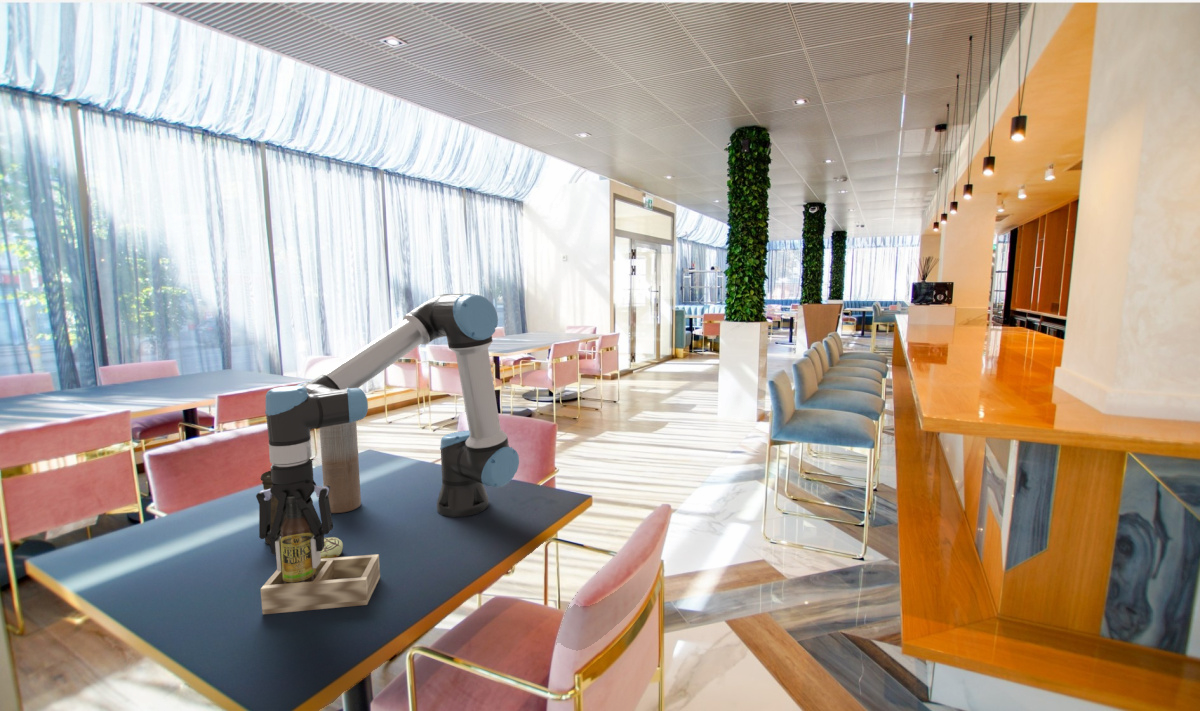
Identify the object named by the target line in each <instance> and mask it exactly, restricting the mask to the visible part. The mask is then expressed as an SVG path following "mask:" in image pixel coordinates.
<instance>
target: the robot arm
mask: <svg viewBox="0 0 1200 711" xmlns="http://www.w3.org/2000/svg"><path fill="white" fill-rule="evenodd" d="M498 322H499V316H498V312H497V310H496V307H495V305H494V304H493V302H491V300H489V299H488V298H487V297H485V296H483V295H480V294H476V293H475V294H474V293H453V294H452V293H451V294H450V293H449V294H448V293H446V294H445V293H444V294H440V295H437V296H434V297H432V298H430V299H428V300H426V301H425V302H423V303H422V304H420V305H418V306H417V307H416V308H414V309H413V310H411V311H409V312H408V313H406V314H404V316H403V319H402V321H401V322H400V323H398V324H396V326H393V327H391V329H389V330H388V331H386V332H385V333H383V334H382V335H380V336H378V337H377V338H376V339H374V340H373V341H371V342H369V343H368V344H367V345H365V346H364V347H362V348H361V349H359V350H357V351H356V352H355V353H353V354H352V355H350V356H349V357H346V358H345V359H344V360H342V361H340V363H338V364H336V365H335V366H333V367H332V368H330V369H329V370H328V371H326V372H324V373H322V374H321V375H319V376H318V377H316V378H314V379H313V380H312V381H306V382H301V383H298V384H297V385H291V386H290V385H289V386H288V385H287V386H286V385H285V386H278V387H274V388H271V389H269V390H268V391H267V392H266V394H265V412H264V414H265V418H266V425H267V426H266V427H267V436H268V437H267V438H268V451H269V452H268V454H269V462H270V464H271V466H270V471H271V479H272V487H271V489H268V490H266V489H264V488H263V489H262V490H260V491H259V492H258V493H257V494H256V495H255V497H256V499H257V503H258V504H259V507H258V508H259V509H258V513H259V514H258V515H259V518H258V519H259V520H258V522H259V524H258V526H259V528H258V530H259V531H258V532H259V533H258V534H259V537H258V538H260V539H261V540H265V539H269V540H270V543H271V545H270V553H271V555H272V556H275V555H276V556H275V558H276V570H277V571H282V557H281V536H280V537H279V535H280V534H281V526H282V524H283V522H284V519H285V515H286V503H285V502H286V498H287V497H291V496H294V497H295V499H296V500H297V502H298V504H299V506H300V509H301V510H303V512H304V514H305V517H306V519H307V521H308V523H309V526H310V528H311V530H312V532H313V534H314V536H313V537H312V538H311V553H312V566H313V568H317V567H318V565H319V564H320V563H321V554H320V551H322V550H323V548H324V546H325V545H324V538H325V537H324V536H325V535H329V534H330V532H331V531H332V530H333V528H334V526H333V525H334V524H333V517H332V513H331V510H330V503H329V497H328V495H329V491H330V486H328V485H326V486H325V487H323V485H322V486H320V485H318V484H317V483H316V482H315V480H314V466H313V464H314V463H313V460H312V459H311V458H312V440H311V437H312V436H311V430H317V429H320V428H322V427H327V426H333V425H339V424H344V423H351V422H354V421H356V422H358V421H361V420H363V419H365V417H366V416H367V414H368V410H369V404H368V403H369V402H368V397H367V396H366V393H365V392H364V390H363V389H361V388H360V387H362V386H364V384H366V383H367V382H369V381H370V380H372V379H373V378H374V377H377V375H378V374H380V373H382V372H383V371H384V370H386V369H388V368H389V367H390V366H392V365H393V364H394V363H396V362H397V361H399V360H400V359H402V358H403V357H404V356H406V355H407V354H409V353H410V352H411V351H413V350H414V349H416V348H417V347H418V346H420V345H425V346H426V345H428V344H429V343H431V342H432V341H434V340H436V339H440V338H445V337H446V339H447V346H448V349H449V350H451V351H452V352H453V353H455V356H456V357H455V358H456V363H457V369H458V374H459V379H460V387H461V393H462V397H463V398H462V399H463V403H464V409H465V410H464V411H465V415H466V420H467V427H468V430H462V431H456V432H450V433H448V434H445V435H444V436H442V437H441V438H440V448H439V450H440V460H441V461H440V463H441V478H442V479H441V488H440V490H439V495H438V498H437V500H436V511H437V512H438V514H440V515H442V516H445V517H452V518H460V517H461V518H462V517H468V516H469V517H470V516H473V515H477V514H479V513H481V512H483V511H485V510H486V509H487V508H488V507H489V495H488V493H487V490H486V488H485V486H486V487H492V488H502V487H504V486H506V485H508V484H509V483H510V482H511V480H513V478H514V477H515V475H516V473H517V472H518V469H519V464H520V457H519V456H520V455H519V453H518V452H517V450H515V448H513V447H512V446H510V445H509V439H508V434H507V433H506V432H505V431H503V429H501V423H500V417H499V410H498V404H497V398H496V392H495V385H494V378H493V373H492V366H491V360H490V354H489V353H490V352H489V347H490V346H491V344H492V343H493V335H494V334H495V332H496V328H498V324H499V323H498ZM313 493H315V494H316V497H317V498H318V508H319V514H320V517H319V514H318V513H317V510H316V508H315V506H314V501H313V498H312V495H313ZM272 495H273V496H274V497H275V498H276V499H277V500H278V501H279V502H278V505H277V509H276V510H277V512H276V515H275V519H274V522H273V526H272V530H271V498H272Z"/></svg>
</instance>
